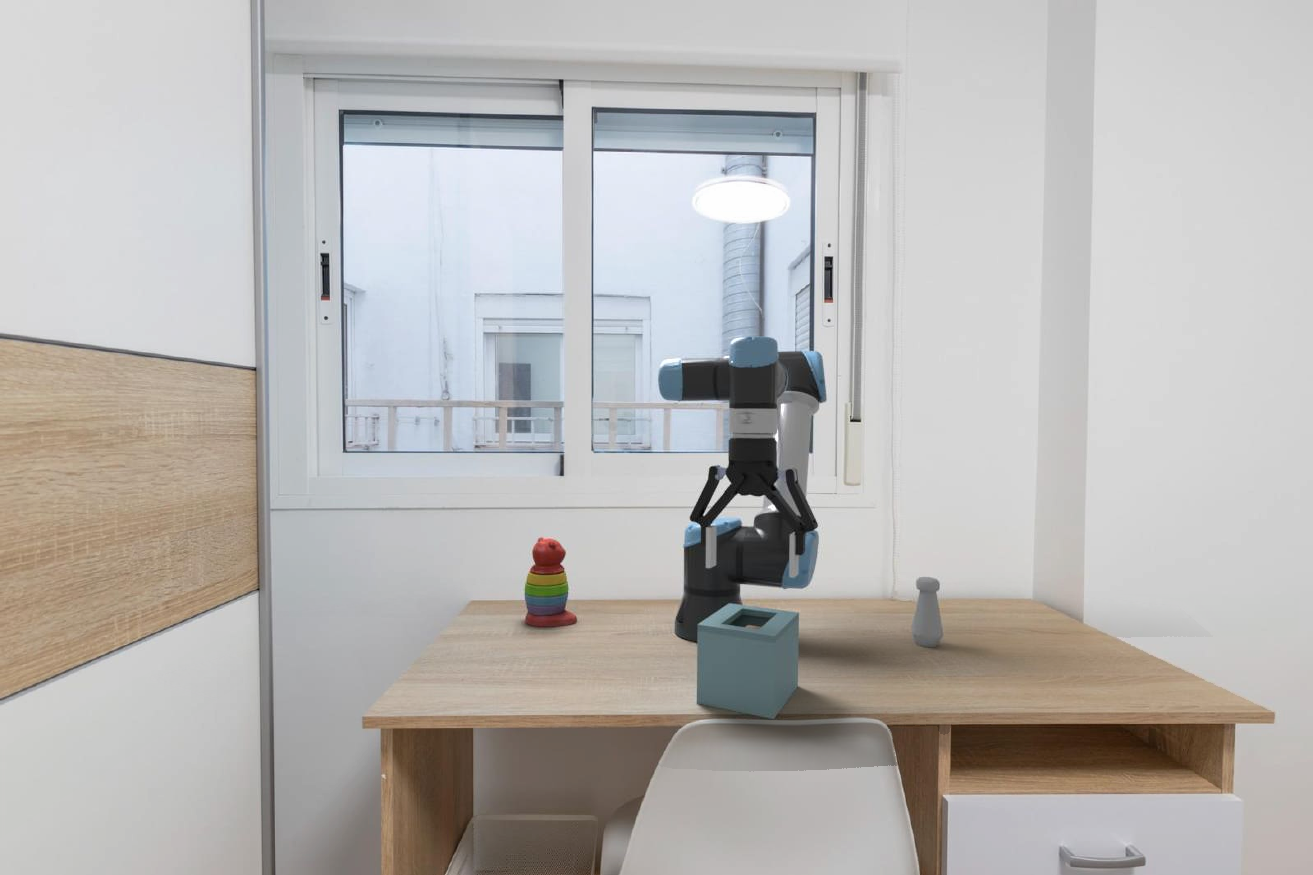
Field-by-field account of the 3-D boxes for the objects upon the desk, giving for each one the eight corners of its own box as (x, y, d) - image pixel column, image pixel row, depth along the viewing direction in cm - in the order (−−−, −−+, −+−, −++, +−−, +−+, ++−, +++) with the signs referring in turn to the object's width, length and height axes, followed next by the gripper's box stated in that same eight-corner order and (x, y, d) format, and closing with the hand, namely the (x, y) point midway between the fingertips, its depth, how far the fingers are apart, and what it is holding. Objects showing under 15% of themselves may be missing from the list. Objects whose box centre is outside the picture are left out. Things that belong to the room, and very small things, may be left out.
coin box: (696, 703, 100) (697, 624, 100) (728, 673, 112) (729, 603, 112) (773, 719, 95) (774, 636, 95) (797, 686, 107) (798, 612, 107)
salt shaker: (945, 650, 126) (946, 582, 126) (914, 647, 127) (915, 580, 127) (938, 640, 132) (940, 575, 132) (908, 638, 133) (909, 574, 133)
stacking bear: (580, 623, 141) (581, 540, 141) (536, 630, 135) (537, 544, 135) (558, 611, 150) (559, 533, 150) (516, 617, 144) (517, 536, 144)
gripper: (670, 435, 105) (669, 567, 106) (828, 438, 94) (826, 585, 95) (689, 434, 112) (688, 558, 113) (838, 437, 101) (836, 574, 102)
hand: (751, 571), depth 104 cm, fingers open, 13 cm apart
